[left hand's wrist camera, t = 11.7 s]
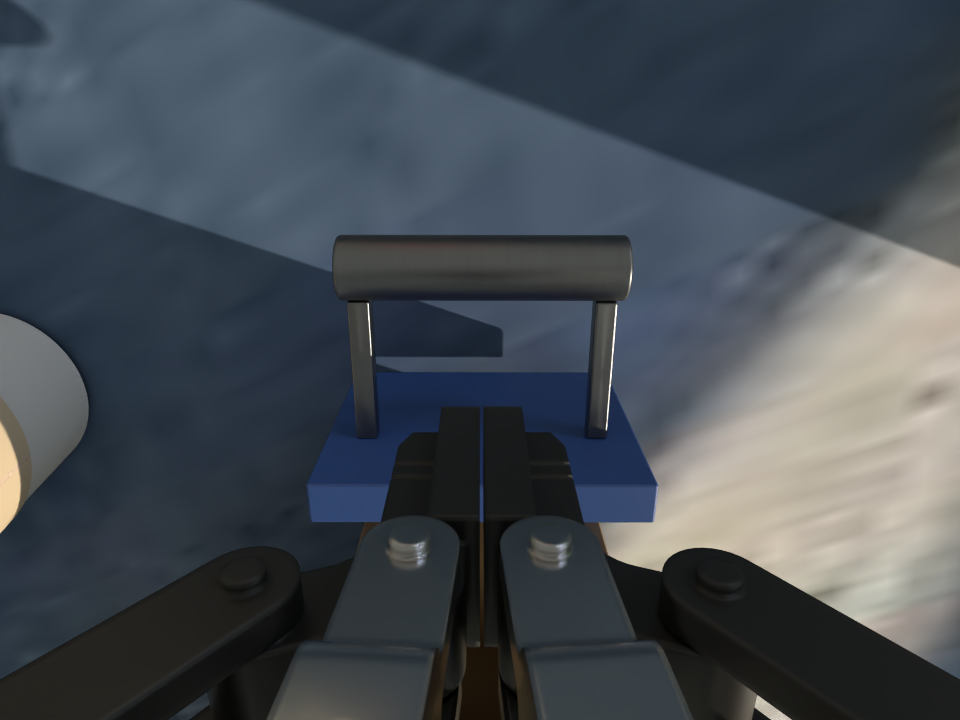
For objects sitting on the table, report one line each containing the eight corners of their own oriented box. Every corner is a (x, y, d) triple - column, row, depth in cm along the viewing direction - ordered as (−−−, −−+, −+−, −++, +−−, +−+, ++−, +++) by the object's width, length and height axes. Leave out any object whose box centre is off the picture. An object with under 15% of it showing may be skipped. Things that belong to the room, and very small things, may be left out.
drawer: (344, 207, 22) (278, 258, 15) (619, 207, 22) (686, 259, 15) (383, 738, 31) (355, 928, 24) (577, 738, 31) (606, 928, 24)
